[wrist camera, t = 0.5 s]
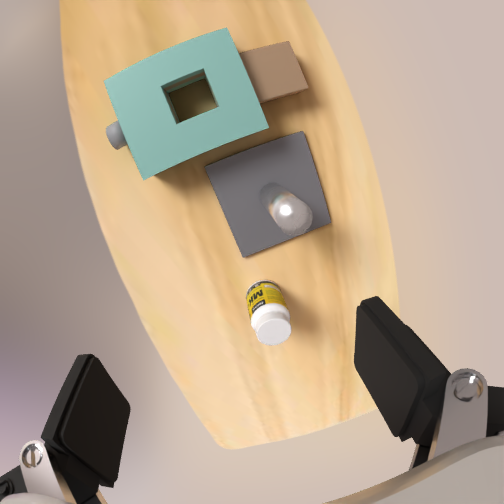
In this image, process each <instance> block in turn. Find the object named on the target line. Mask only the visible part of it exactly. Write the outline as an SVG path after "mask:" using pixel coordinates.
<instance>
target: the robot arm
mask: <svg viewBox="0 0 504 504" xmlns="http://www.w3.org/2000/svg"><path fill="white" fill-rule="evenodd" d="M354 364H355V368H356V370H357V372H358V373H359V375H360V377H361V379H362V380H363V382H364V384H365V386H366V387H367V389H368V391H369V393H370V394H371V396H372V398H373V400H374V402H375V403H376V405H377V407H378V409H379V411H380V412H381V414H382V416H383V417H384V420H385V421H386V423H387V425H388V427H389V429H390V430H391V432H392V434H393V435H394V436H395V437H398V436H399V437H400V439H401V441H402V442H403V441H405V440H407V439H409V438H411V437H412V438H413V440H414V442H415V443H416V444H417V445H416V449H415V452H414V455H413V459H412V462H411V465H410V468H409V471H407V472H405V473H403V474H401V475H399V476H396V477H395V478H392V479H390V480H387V481H385V482H383V483H380V484H378V485H375V486H373V487H370V488H368V489H365V490H363V491H360V492H357V493H354V494H352V495H349V496H346V497H343V498H340V499H337V500H333V501H330V502H327V503H323V504H504V388H502V387H493V386H487V382H486V380H485V378H484V376H483V375H482V374H480V373H479V372H477V371H475V370H473V369H468V368H467V369H460V370H457V371H455V372H454V373H453V374H451V373H450V372H449V371H448V370H447V369H446V368H445V366H444V365H443V364H442V363H441V362H440V360H439V359H438V358H437V357H436V356H435V355H434V354H433V352H432V351H431V350H430V349H429V348H428V347H427V346H426V345H425V344H424V342H423V341H422V340H421V339H420V338H419V337H418V336H417V335H416V334H415V333H414V331H413V330H412V329H411V328H410V327H408V326H407V325H405V324H404V323H403V322H402V321H401V320H400V319H399V318H398V317H397V316H396V315H395V314H394V312H393V311H392V310H391V309H390V308H389V307H388V306H387V305H386V304H385V303H384V302H383V301H382V300H381V299H380V298H379V297H378V296H375V297H372V298H369V299H365V300H363V301H361V304H360V306H358V307H357V312H356V337H355V353H354ZM129 415H130V405H129V403H128V401H127V400H126V398H125V397H124V396H123V394H122V393H121V391H120V390H119V389H118V387H117V386H116V384H115V383H114V381H113V380H112V379H111V377H110V376H109V374H108V373H107V371H106V369H105V368H104V366H103V365H102V363H101V362H100V360H99V359H98V358H96V357H95V356H94V355H93V354H83V355H78V356H77V358H76V360H75V362H74V364H73V366H72V368H71V370H70V372H69V374H68V376H67V378H66V380H65V382H64V384H63V386H62V388H61V390H60V393H59V395H58V397H57V399H56V402H55V404H54V406H53V408H52V411H51V413H50V415H49V418H48V420H47V422H46V425H45V427H44V430H43V432H42V435H41V438H42V439H43V440H44V441H45V444H42V443H41V442H40V441H37V440H32V441H29V442H28V443H26V444H25V445H24V446H23V448H22V449H21V451H20V455H19V462H20V465H19V466H17V467H16V468H14V469H12V470H11V471H9V472H8V473H6V474H4V475H3V476H1V477H0V504H107V502H106V500H105V499H104V497H103V496H102V494H101V492H100V491H99V489H98V487H99V484H100V485H101V486H106V487H111V488H113V487H114V482H115V481H116V480H117V478H118V472H119V466H120V460H121V455H122V449H123V444H124V439H125V434H126V429H127V424H128V419H129Z"/></svg>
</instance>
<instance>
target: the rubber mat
mask: <svg viewBox="0 0 504 504" xmlns="http://www.w3.org/2000/svg"><path fill="white" fill-rule="evenodd" d="M205 170H206V172H207V174H208V177H209V179H210V181H211V184H212V186H213V189H214V191H215V193H216V196H217V198H218V200H219V203H220V205H221V208H222V210H223V212H224V215H225V217H226V219H227V222H228V224H229V226H230V229H231V231H232V233H233V236H234V238H235V240H236V243H237V245H238V247H239V250H240V252H241V254H242V257H246V256H249V255H251V254H254V253H256V252H259V251H261V250H264V249H266V248H269V247H271V246H274V245H276V244H279V243H281V242H284V241H286V240H289V239H291V238H294V237H296V236H291V235H288V234H286V233H284V232H283V231H282V230H281V229H280V227H279V226H278V224H277V223H276V222H275V220H274V219H273V217H272V216H271V215H270V213H269V212H268V210H267V209H266V208H265V206H264V205H263V204H262V202H261V200H260V191H261V189H262V188H263V187H264V186H265V185H266V184H268V183H277V184H279V185H280V186H282V187H283V188H285V189H286V190H287V191H289V192H290V193H292V194H293V195H294V196H296V197H297V198H298V199H300V200H301V201H303V202H304V203H305V204H307V205H308V206H309V208H310V209H311V211H312V216H313V218H312V223H311V226H310V227H309V229H308V230H307V231H306V232H304V233H307V232H309V231H312V230H314V229H317V228H319V227H322V226H324V225H327V224H329V223H331V220H330V216H329V212H328V209H327V205H326V202H325V198H324V195H323V191H322V188H321V185H320V181H319V178H318V175H317V172H316V168H315V165H314V162H313V159H312V156H311V153H310V150H309V147H308V144H307V141H306V138H305V135H304V132H303V131H300V132H297V133H294V134H291V135H288V136H285V137H282V138H279V139H276V140H273V141H270V142H267V143H264V144H262V145H259V146H256V147H253V148H251V149H248V150H245V151H243V152H240V153H237V154H235V155H232V156H230V157H227V158H224V159H222V160H219V161H217V162H215V163H212V164H210V165H207V166H205ZM304 233H303V234H304ZM301 235H302V234H301ZM297 236H299V235H297Z"/></svg>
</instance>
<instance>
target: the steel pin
mask: <svg viewBox="0 0 504 504" xmlns="http://www.w3.org/2000/svg"><path fill="white" fill-rule="evenodd" d="M260 200H261V202H262V204H263V205H264V206H265V208H266V209H267V210H268V212H269V213H270V215H271V216H272V217H273V219H274V220H275V222H276V223H277V224H278V226H279V227H280V229H281V230H282V231H283V232H284V233H286V234H288V235H291V236H297V235H301V234H303V233H304V232H306V231H307V230H308V229H309V227H310V226H311V223H312V218H313V216H312V211H311V209H310V208H309V206H308V205H307V204H305V203H304V202H303V201H301V200H300V199H298V198H297V197H296V196H294V195H293V194H292V193H290V192H289V191H287V190H286V189H285V188H283V187H282V186H280V185H279V184H277V183H268V184H266V185H265V186H264V187H263V188H262V189H261V191H260Z"/></svg>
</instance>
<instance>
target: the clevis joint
mask: <svg viewBox="0 0 504 504" xmlns="http://www.w3.org/2000/svg"><path fill="white" fill-rule="evenodd" d="M204 78H205V79H206V81H207V83H208V86H209V88H210V91H211V93H212V95H213V98H214V100H215V103H216V105H217V108H215V109H212V110H209V111H207V112H204V113H202V114H199V115H197V116H195V117H192V118H190V119H188V120H185V121H183V122H181V123H180V121H179V119H178V116H177V114H176V111H175V109H174V106H173V104H172V102H171V99H170V97H169V94H168V93H170V92H172V91H175V90H177V89H179V88H182V87H184V86H186V85H189V84H191V83H194V82H196V81H199V80H201V79H204ZM104 83H105V86H106V89H107V92H108V95H109V97H110V100H111V103H112V105H113V108H114V111H115V113H116V116H117V119H118V121H116V122H114V123H113V124H111V125H109V126H107V128H106V133H107V137H108V139H109V141H110V143H111V145H112V146H113V147H114V148H115V149H117V150H118V149H120V148H121V147H123V146H125V145H127V144H128V146H129V148H130V151H131V153H132V155H133V158H134V160H135V162H136V165H137V167H138V169H139V172H140V174H141V176H142V178H143V180H145V179H147V178H149V177H151V176H153V175H155V174H157V173H159V172H161V171H164V170H166V169H168V168H170V167H172V166H174V165H176V164H179V163H181V162H183V161H185V160H188V159H190V158H192V157H194V156H197V155H199V154H202V153H204V152H206V151H209V150H211V149H214V148H216V147H219V146H221V145H224V144H226V143H229V142H231V141H234V140H237V139H239V138H242V137H245V136H247V135H250V134H253V133H256V132H259V131H262V130H264V129H267V128H269V126H268V124H267V121H266V118H265V116H264V113H263V111H262V108H261V106H260V104H261V103H265V102H268V101H271V100H274V99H278V98H281V97H285V96H288V95H292V94H295V93H299V92H302V91H304V90H305V89H307V88H308V85H307V82H306V80H305V77H304V75H303V73H302V70H301V68H300V65H299V63H298V61H297V58H296V56H295V54H294V51H293V49H292V47H291V45H290V43H289V41H287V42H282V43H277V44H273V45H269V46H265V47H261V48H257V49H253V50H249V51H246V52H242V53H238V51H237V49H236V47H235V44H234V42H233V40H232V38H231V36H230V33H229V31H228V29H227V28H224V29H220V30H217V31H214V32H211V33H208V34H205V35H202V36H199V37H196V38H193V39H191V40H188V41H185V42H183V43H180V44H178V45H175V46H173V47H170V48H168V49H166V50H163V51H161V52H159V53H156V54H154V55H152V56H150V57H148V58H146V59H144V60H142V61H140V62H138V63H136V64H134V65H132V66H130V67H128V68H126V69H124V70H122V71H121V72H119V73H117V74H115V75H113V76H112V77H110V78H108V79H106V80H105V81H104Z"/></svg>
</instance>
